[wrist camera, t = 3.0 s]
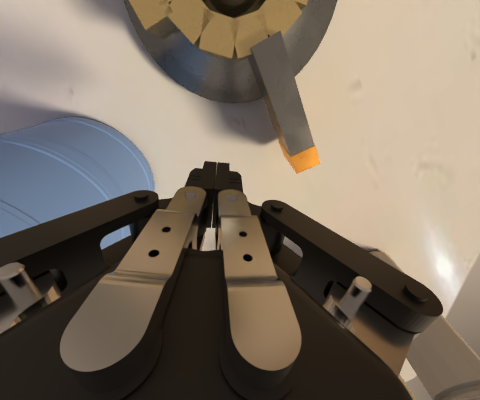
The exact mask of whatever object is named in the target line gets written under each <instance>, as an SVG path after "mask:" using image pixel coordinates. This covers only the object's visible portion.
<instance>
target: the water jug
mask: <svg viewBox="0 0 480 400" xmlns="http://www.w3.org/2000/svg"><path fill="white" fill-rule="evenodd" d="M138 190H150V191H153V192H154V178H153V174H152V171H151V168H150V166H149V164H148V162H147V160H146V158H145V157H144V155H143V154H142V153H141V151H140V150H139V149H138V148H137V147H136V145H135V144H134V143H132V142H131V141H130V140H129V139H128V138H127V137H125V136H124V135H123V134H121V133H120V132H118V131H117V130H115V129H113V128H111V127H109V126H107V125H105V124H103V123H100V122H97V121H94V120H90V119H85V118H78V117H65V118H59V119H54V120H50V121H46V122H43V123H40V124H38V125H36V126H33V127H29V128H25V129H21V130H17V131H13V132H9V133H0V238H1V237H4V236H7V235H10V234H13V233H16V232H19V231H21V230H24V229H27V228H30V227H33V226H36V225H39V224H42V223H44V222H47V221H50V220H53V219H56V218H59V217H62V216H65V215H67V214H70V213H73V212H76V211H79V210H82V209H85V208H88V207H90V206H93V205H96V204H99V203H102V202H105V201H108V200H110V199H113V198H116V197H119V196H122V195H125V194H128V193H131V192H134V191H138ZM130 234H131V233H130V228H129V225H127V226H125V227H123V228H121V229H119V230H116V231H114V232H112V233H110V234H108V235H106V236H105V237H104V238H103V239H102V240H101V243H100V247H101V250H102V249H104V248H106V247H108V246H110V245H112V244H114V243H116V242H118V241H120V240H122V239H124V238H126V237H128V236H129V235H130Z"/></svg>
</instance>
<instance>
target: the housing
mask: <svg viewBox="0 0 480 400" xmlns="http://www.w3.org/2000/svg"><path fill="white" fill-rule="evenodd" d="M202 1H203V3H204V4H205V5H206V6H207V7H208V9H209V10H211V11H213V12H216V13H219V14H222V15H225V16H228V17H231V18H234V19H235V18H238V17H240V16H243V15H246V14H249V13H252V12H255V11H257V10H259V9H260V7H261V6H262V5H263V3H264V2H265V1H266V0H202ZM124 2H125V5H126V8H127V11H128V13H129V16H130V19H131V21H132V23H133V25H134V27H135V29H136V31H137V33H138V35H139V37H140V39H141V40H142V42H143V44H144V45H145V47H146V49H147V50H148V51H149V53H150V54H151V55H152V57H153V58H154V60H155V61H156V62H157V63H158V64H159V65H160V67H161V68H162V69H163V70H164V71H165V72H166V73H167V74H168V75H169V76H170V77H172V78H173V79H174V80H175V81H176V82H177V83H179V84H180V85H182V86H183V87H185V88H186V89H188V90H189V91H191V92H193V93H195V94H197V95H199V96H202V97H204V98H207V99H210V100H214V101H219V102H227V103H239V102H248V101H252V100H256V99H259V98H262V95H261V92H260V89H259V87H258V84H257V82H256V79H255V76H254V74H253V71H252V68H251V66H250V63H249V60H248V58H247V59H244V60H241V61H238V62H236V59H235V55H234V51H233V56H232V61H231V62H229V61H226V60H222V59H219V58H216V57H213V56H210V55H206V54H205V53H203V52H202V51H200V50H199V49H198V48H197V47H196V46H194V45H193V44H192V42H191V41H190V40H189V39H188V38H187V37H186V36H185V35H184V34H183V33H182V32H181V30H180V29H179V30H178V31H176V32H175V33H173V34H172V35H170V36H169V37H167V38H165V39H164V40H162V39H160V38H159V37H157V36H155V35H153V34H152V33H150V32H148V31H146V30H145V28H144V27H143V25H142V23H141V21H140V20H139V18H138V16H137V14H136V12H135V11H134V9H133V7H132V5H131V3H130V2H129V0H124ZM336 3H337V0H308V2H307V5H306V6H305V7H304V8H303V9H302V10H301V12H302V14H301V15H300V16H299V17H298V18H297V20H296V21H295V22H294V23H293V24H292V25H291V27H290V28H289V29H288V30H287V31H286V32H285V34H284V35H283V36H282V37H283V40H284V44H285V47H286V51H287V54H288V57H289V61H290V64H291V68H292V71H293V74H294V77H295V76H296V75H297V74H298V73H299V72H300V71H301V70H302V69H303V67H304V66H305V65H306V64H307V63H308V61H309V60H310V59H311V57H312V56H313V54H314V53H315V51H316V50H317V48H318V46H319V44H320V43H321V41H322V39H323V37H324V35H325V33H326V31H327V28H328V26H329V24H330V21H331V19H332V16H333V13H334V10H335V6H336Z"/></svg>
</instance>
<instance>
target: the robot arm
mask: <svg viewBox="0 0 480 400" xmlns="http://www.w3.org/2000/svg"><path fill="white" fill-rule="evenodd" d="M216 168H217V172H216ZM212 214H213V221H212ZM211 222H212V228H216V229H215V250H213V251H201V250H202V246H203V242H204V238H205V232H206V228H211ZM127 225H129V228H130V233H131V235H130V236H128V237H126V238H124V239H122V240H120V241H118V242H116V243H114V244H112V245H110V246H108V247H106V248H104V249H102V250H101V247H100V243H101V240H102V239H103V238H104V237H105V236H106V235H108V234H110V233H112V232H114V231H116V230H119V229H121V228H123V227H125V226H127ZM285 236H286V237H287V238H288V239H290V240H291V241H293V242H294V243H295V244H297V245H298V246H299V247H300V248H301V250H302V252H303V257H302V258H301V257H300V256H299V255H297V254H296V253H295V252H293V251H292V250H291V249H289V248H288V247H287V246H285V245H284V244H283V240H284V237H285ZM442 312H443V307H442V304H441V302H440V300H439V299H438V298H437V296H436V295H435V294H434V293H433V292H432V291H431V290H430V289H428V288H427V287H426V286H424V285H423V284H421V283H420V282H418V281H416V280H415V279H413V278H411V277H410V276H408V275H406V274H404V273H403V272H401V271H399V270H398V269H396V268H394V267H393V266H391V265H389V264H387V263H386V262H384V261H382V260H381V259H379V258H377V257H376V256H374V255H372V254H371V253H369V252H367V251H365V250H364V249H362V248H360V247H359V246H357V245H355V244H354V243H352V242H350V241H349V240H347V239H345V238H343V237H342V236H340V235H338V234H337V233H335V232H333V231H332V230H330V229H328V228H326V227H325V226H323V225H321V224H320V223H318V222H316V221H315V220H313V219H311V218H310V217H308V216H306V215H304V214H303V213H301V212H299V211H298V210H296V209H294V208H293V207H291V206H289V205H288V204H286V203H284V202H281V201H277V200H267V201H265V202H263V204H262V207H261V206H257V205H254V204H251V203H249V202H248V201H247V198H246V195H245V194H244V193H243V188H242V179H241V175H240V174H239V173H238V172H234V171H229V163H219V162H218V164H217V162H208V161H205V162H204V166H203V169H199V168H195V169H194V170H192V171H191V172H190V174H189V177H188V179H187V182H186V185H185V187H183V188H180V189H179V190H178V191H177V192H176V194H175V195H174V197H173V198H170V199H161V200H159V199H158V194H157V193H155V192H153V191H150V190H138V191H134V192H131V193H128V194H125V195H122V196H119V197H116V198H113V199H110V200H108V201H105V202H102V203H99V204H96V205H93V206H90V207H88V208H85V209H82V210H79V211H76V212H73V213H70V214H67V215H65V216H62V217H59V218H56V219H53V220H50V221H47V222H44V223H42V224H39V225H36V226H33V227H30V228H27V229H24V230H21V231H19V232H16V233H13V234H10V235H7V236H4V237H1V238H0V400H413V399H412V397H411V395H410V394H409V392H408V391H407V389H406V388H405V386H404V384H403V383H402V382H401V380H400V379H399V378H398V376H399V374H400V371H401V368H402V366H403V363H404V361H405V358H406V355H407V353H408V350H409V348H410V345H411V343H412V342H413V341H414V340H415V339H416V338H417V337H418V336H419V335H420V334H421V333H422V332H423V331H424V330H425V329H426V328H427V327H429V326H430V325H431V324H432V323H433V322H434V321H435V320H436V319H437V318H438V317H439V316H440V315H441V314H442Z"/></svg>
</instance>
